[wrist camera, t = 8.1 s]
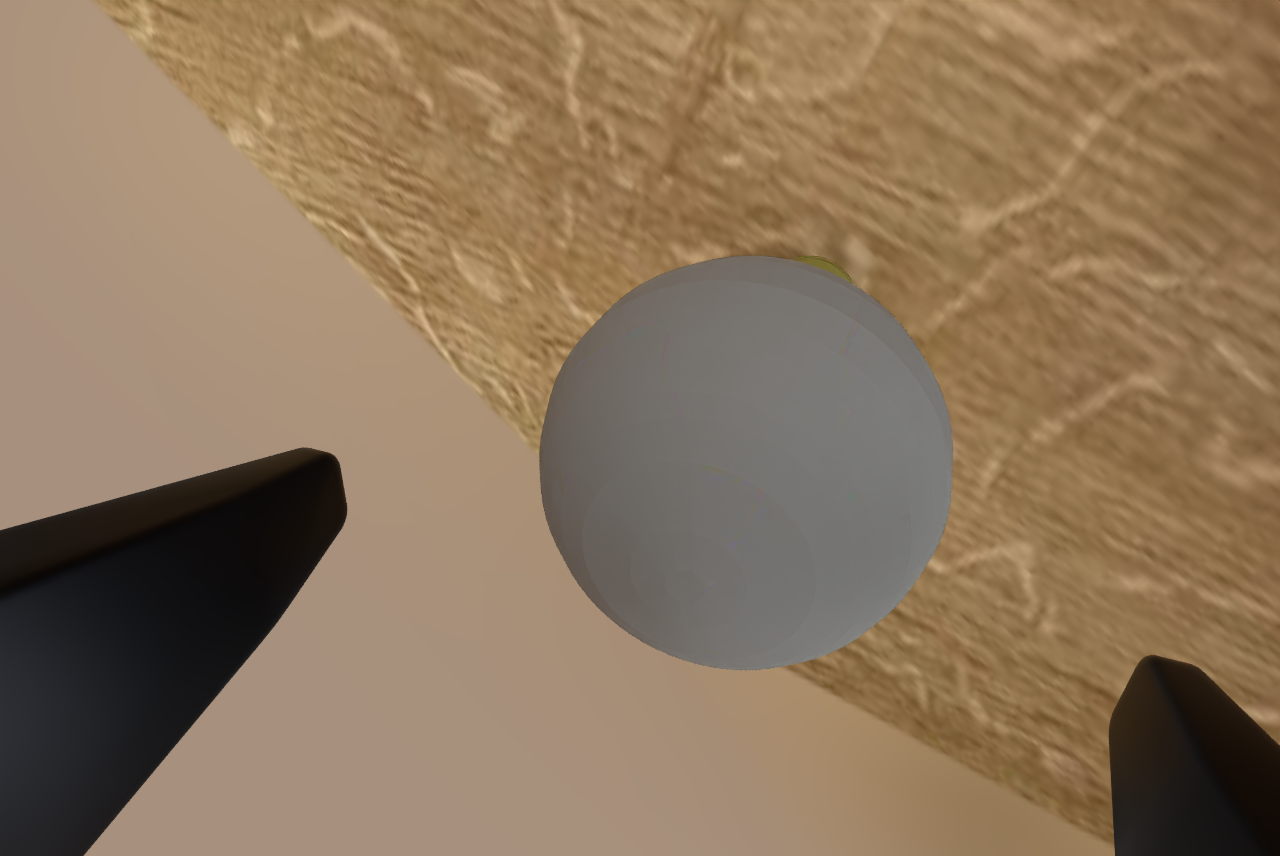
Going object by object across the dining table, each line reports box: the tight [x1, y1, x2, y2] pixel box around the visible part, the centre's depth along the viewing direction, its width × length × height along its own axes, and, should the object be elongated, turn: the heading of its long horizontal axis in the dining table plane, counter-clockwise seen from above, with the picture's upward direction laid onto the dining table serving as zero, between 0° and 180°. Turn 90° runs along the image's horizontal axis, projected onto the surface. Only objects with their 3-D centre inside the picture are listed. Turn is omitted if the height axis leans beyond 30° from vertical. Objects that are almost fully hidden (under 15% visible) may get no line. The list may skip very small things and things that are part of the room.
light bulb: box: [539, 255, 953, 670], centre depth 13 cm, size 6×5×10 cm
